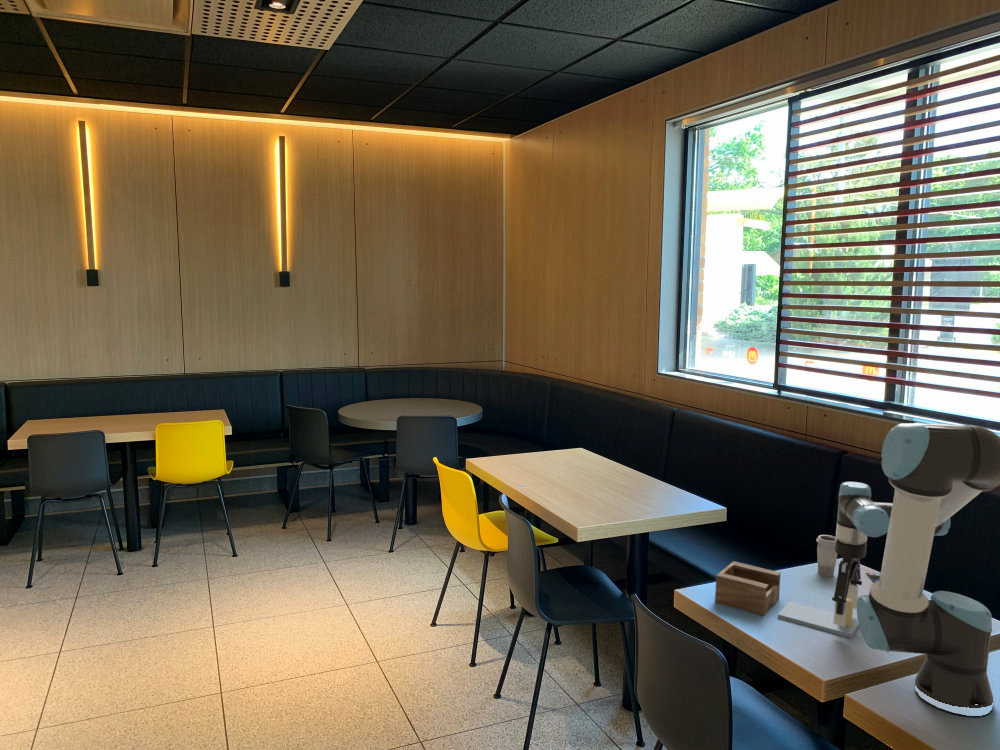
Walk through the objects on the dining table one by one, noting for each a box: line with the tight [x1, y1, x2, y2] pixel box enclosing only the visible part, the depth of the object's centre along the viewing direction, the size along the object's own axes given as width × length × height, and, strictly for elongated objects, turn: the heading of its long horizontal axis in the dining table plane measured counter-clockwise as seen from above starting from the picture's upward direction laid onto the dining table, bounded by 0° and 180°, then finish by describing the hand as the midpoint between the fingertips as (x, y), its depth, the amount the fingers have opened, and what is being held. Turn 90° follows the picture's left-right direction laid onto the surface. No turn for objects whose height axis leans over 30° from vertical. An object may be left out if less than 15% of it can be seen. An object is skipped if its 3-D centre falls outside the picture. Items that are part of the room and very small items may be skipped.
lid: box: [777, 597, 859, 639], centre depth 205 cm, size 11×19×8 cm, turn 53°
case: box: [714, 561, 782, 617], centre depth 217 cm, size 14×14×8 cm
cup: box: [815, 534, 838, 578], centre depth 237 cm, size 7×7×12 cm
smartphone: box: [865, 572, 880, 584], centre depth 231 cm, size 8×15×1 cm, turn 171°
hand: (845, 615), depth 201 cm, fingers open, 13 cm apart
